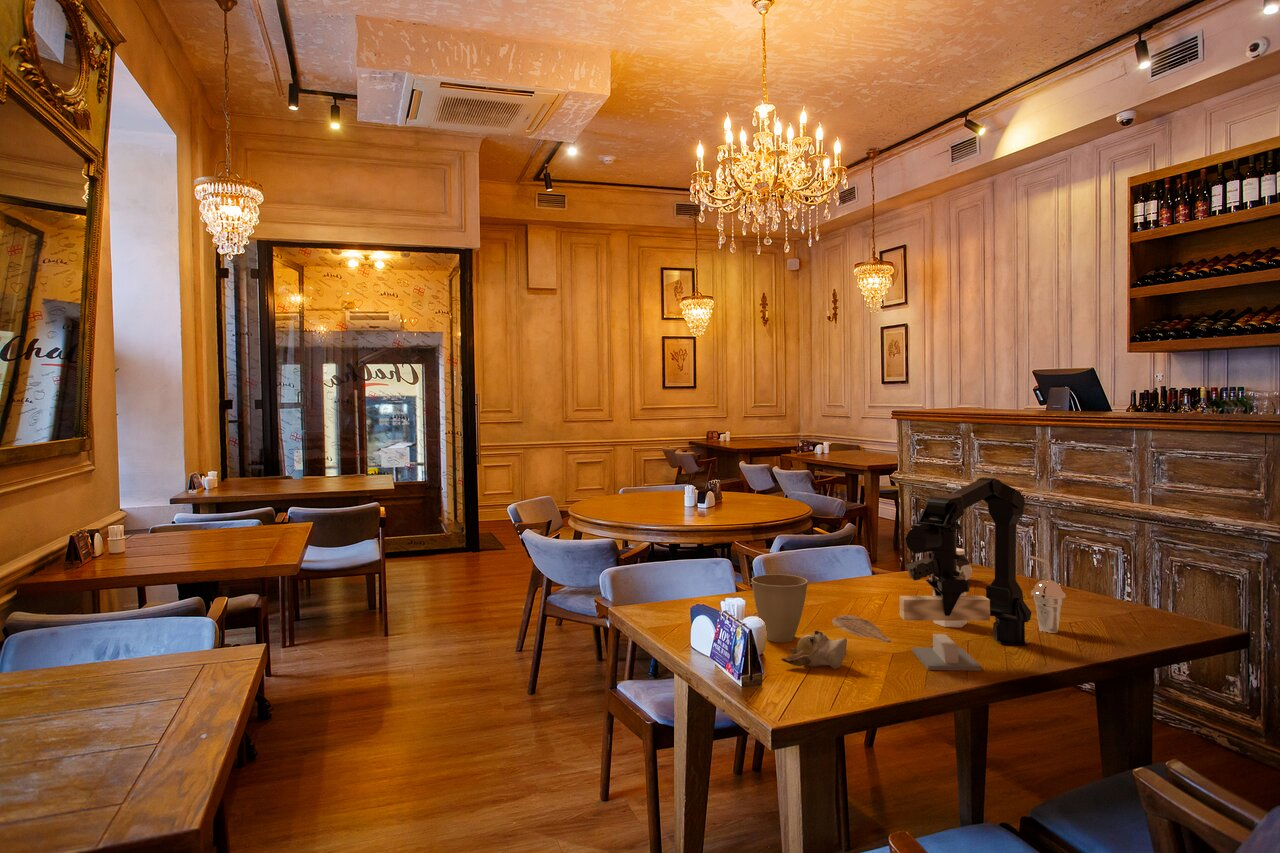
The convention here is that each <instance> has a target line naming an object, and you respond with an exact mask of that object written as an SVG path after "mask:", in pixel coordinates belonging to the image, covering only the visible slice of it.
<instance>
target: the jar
mask: <svg viewBox="0 0 1280 853" xmlns="http://www.w3.org/2000/svg"><path fill="white" fill-rule="evenodd" d="M932 596H935V593H934V590H932ZM960 596H967V592H962V593H961V595H960ZM932 622H933V624H935V625H938V626H941V627H944V628H958V629H959V628H963V627H964V626H966V625H967V623H968V621H946V620H932Z"/></svg>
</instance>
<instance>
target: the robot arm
mask: <svg viewBox="0 0 1280 853" xmlns="http://www.w3.org/2000/svg"><path fill="white" fill-rule="evenodd" d="M981 501H983V502H985V504H987V511H988V512H987V513H988V514H989V516H990V517H991V519H992V521H993V523H994V579H993V581H991V583H990V584H987V585H986V586H985V597H986V598H988V599H990V617H994V619H995V621H994V622H993V623H992V624H993V626H992V629H993V633H992V634H993V636H992V639H993V640H995V641H996V642H998V643H999V644H1001V645H1002V646H1006V645H1007V646H1010V645H1011V646H1028V645H1029V644H1028V643H1029V642H1027V641H1026V635H1025V634H1026V629H1025V628H1026V627H1025V626H1026V623H1028V622H1029V621H1030V620H1031V619H1032V618H1031V617H1032V611H1031V610H1030V608H1029V607H1028V605H1027V604H1026V602H1025V601H1024V595H1023V590H1022V587H1020V585H1019V583H1018V581H1017V575H1016V574H1017V524H1018V522H1019V521H1020V520H1021V518H1022V517H1023V515H1024V509H1025V505H1026V500H1025V497H1024V495H1023V494H1022V492H1020V491H1019V490H1018V489H1016V488H1013V487H1011V486H1010V485H1007V484H1005V483H1003V482H1002V481H1001V480H999V479H997V478H996V477H980V478H977V479H976V481H974V482H971V483H970V484H967V485H966V486H964V487H962V488H960V489H958V490H956V491H954V492H952V493H945V494H937V495H933V496H930V497H929V498H928V499H927V501H926V503H925V505H924V507H923V510H922V512H921V515H920V516H919V518H918V521H917V523H913V524H912V529H911V530H909V531H908V532H907V535H906V537H905V544H906V546H907V548H908V550H909V551H910V552H912V553H913V554H924V553H927V557H926V558H922V559H919V560H916V561H913V562H911V563H907V564H906V565H905V567H906V569H907V572H908V575H909V577H910V578H911V579H912V580H913V581H919V580H921V579H923V578H927V577H928V579H925V581H926V583H927V584H929V585H930V586H931V587H932V589H933V591H934V593H935V596H941V597H942V603H943V609H944V614H945V616H950V614H951V612H952V610H953V608H954V606H955V604H956V602H957V600H958V598H959V597H960V595H961V593H962V592H966V593H969V592H970V582H969V581H966V580H965V579H964V578H962V577H956V576H959V572H958V571H957V559H959V555H958V554H957V553H956V548H957V530H961V529H962V528H963V527H962V526H961V525H960V523H958V522H957V521H958V520H960V519H961V517H964V515H965V511H966V510H967V509H968V508H970V507H971V506H973V505H975V504H977V503H979V502H981Z"/></svg>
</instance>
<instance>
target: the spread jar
mask: <svg viewBox="0 0 1280 853" xmlns="http://www.w3.org/2000/svg"><path fill="white" fill-rule="evenodd" d="M956 553H957V554H958V555H959V559H957V571H958V572H959V576H956V577H962V578H964V579H965V580H966V581H967V582H969V581H970V579H971V576H972V574H973V573H972V572H973V569H972V568H973V567H972V566H971V563H970V560H969V558H968V557H967V556H966V555H965V553H966V552H965V549H963V548H960V547H956Z"/></svg>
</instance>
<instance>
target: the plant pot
mask: <svg viewBox="0 0 1280 853" xmlns="http://www.w3.org/2000/svg"><path fill="white" fill-rule="evenodd" d="M750 579H751V584H752V585H751V587H752V593H753V599H754V604H755V607H756V608H755V609H756V612H757V616H758V619H759V618H761V619H762V620H763V621H764V622H765V625H766V631H767V639H766V640H768V642H769V641H770V642H774V643H789V642H792V641H794V639H795V637H796V633H797V630H798V628H799V626H800V622H801V618H802V614H803V611H804V608H805V607H804V606H805V602H806V598H807V597H806V596H807V591H808V590H807V589H808V583H809V582H808V579H806V578H804V577H801V576H797V575H792V574H779V573H777V574H775V573H771V574H770V573H769V574H761V575H756V576H753V577H752V578H750Z"/></svg>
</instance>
